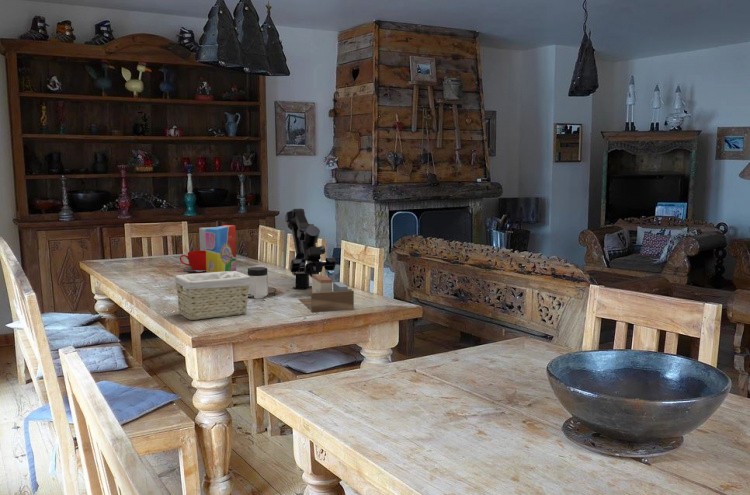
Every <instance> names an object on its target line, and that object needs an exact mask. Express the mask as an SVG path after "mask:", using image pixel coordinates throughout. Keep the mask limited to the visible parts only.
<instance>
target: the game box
mask: <svg viewBox="0 0 750 495" xmlns="http://www.w3.org/2000/svg"><path fill="white" fill-rule="evenodd" d="M236 233H237V231H236V224H235V225H233V224H231V225H230V224H223V225H220V226H214V228H208V229H205V235H206V272H205V273H211V272H225V271H237V246H236V245H237V244H236V243H237V242H236V240H237V239H236V238H237V236H236V235H237V234H236Z"/></svg>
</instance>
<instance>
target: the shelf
mask: <svg viewBox="0 0 750 495" xmlns="http://www.w3.org/2000/svg"><path fill="white" fill-rule="evenodd" d="M354 294H355V291H354V290H353V289H352V290H351V291H334V292H333V291H332V292H317V293H312V292H311V293H310V295H311V296H310V298H298V299H297V300H298V301H299V302H301V303H302V305H304V306H305V307H306V309H308V310H309V311H310V312H312V313H319V312H321V313H322V312H323V313H324V312H334V311H335V312H337V311H353V310H355V309H354V306H355V301H354V298H355V297H354V296H355V295H354ZM308 305H311V309H310V308H309V307H308Z"/></svg>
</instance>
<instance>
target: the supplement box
mask: <svg viewBox="0 0 750 495" xmlns="http://www.w3.org/2000/svg"><path fill="white" fill-rule="evenodd" d="M214 227H215V226H214ZM214 227H213V226H210V227H199V228H198V231H199V232H198V233H199V251H206V235H205V229H208V228H214Z"/></svg>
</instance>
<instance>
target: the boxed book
mask: <svg viewBox="0 0 750 495" xmlns="http://www.w3.org/2000/svg"><path fill="white" fill-rule="evenodd" d="M311 281H312V284H311V286H312V287H311V289H312V290H311V293H316V289H319V290H320V291H321V292H333V279H332V278H330V277H329V276H327V275H326V274H324V273H319V274H312V277H311Z"/></svg>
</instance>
